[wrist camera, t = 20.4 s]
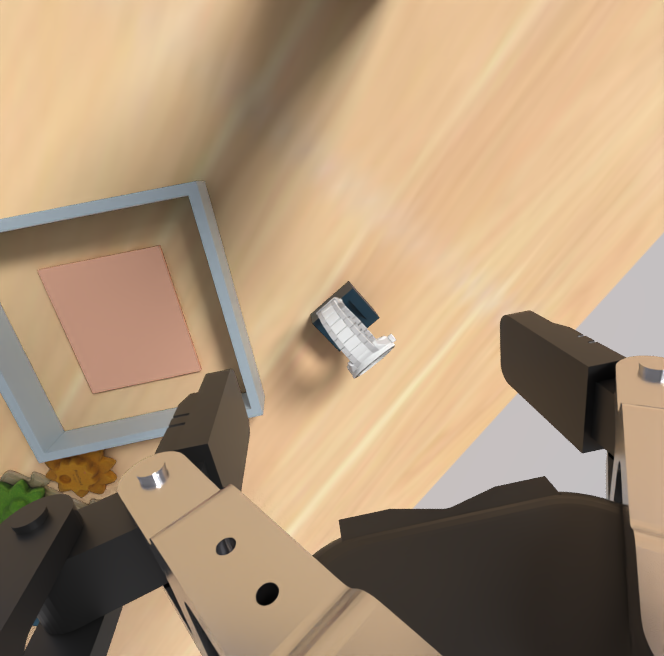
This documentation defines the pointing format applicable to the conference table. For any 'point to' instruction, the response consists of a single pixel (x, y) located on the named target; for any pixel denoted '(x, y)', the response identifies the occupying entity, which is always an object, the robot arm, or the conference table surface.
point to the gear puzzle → (68, 472)
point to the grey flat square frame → (54, 443)
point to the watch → (352, 329)
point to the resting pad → (122, 318)
